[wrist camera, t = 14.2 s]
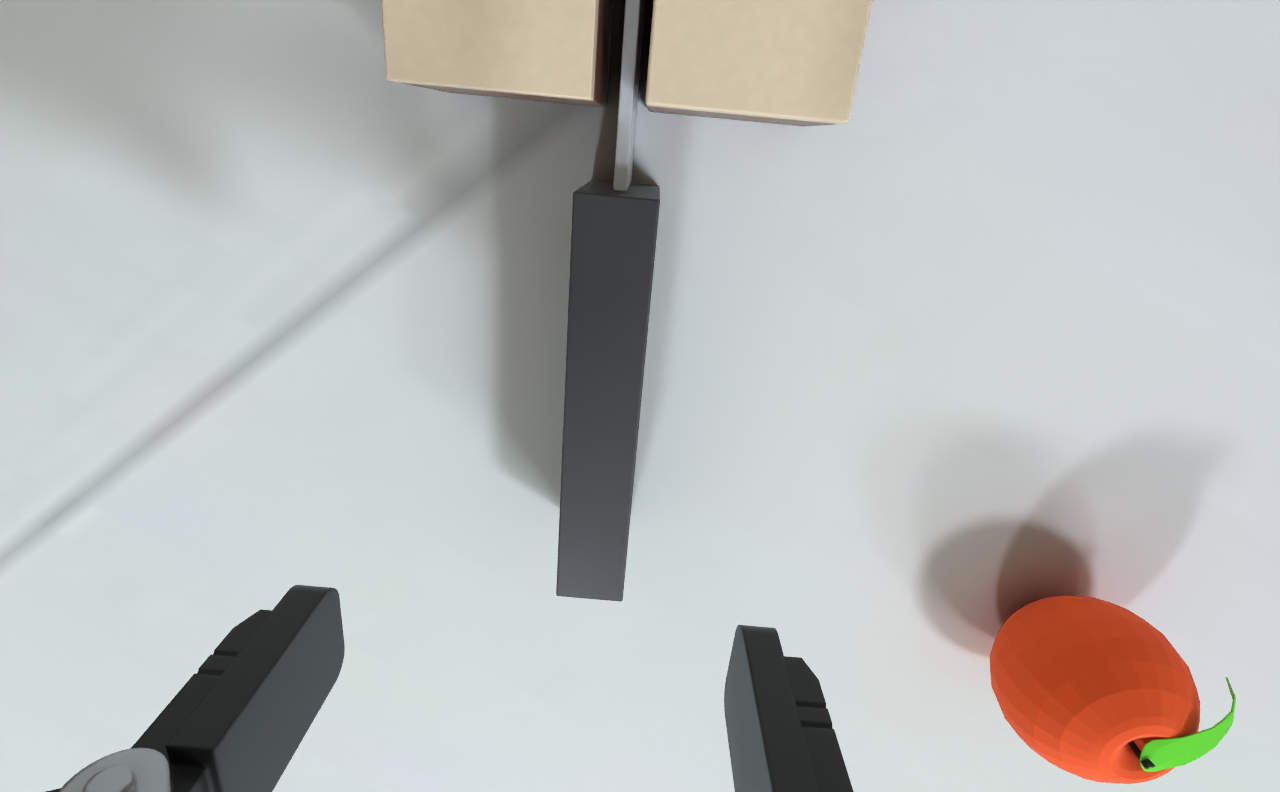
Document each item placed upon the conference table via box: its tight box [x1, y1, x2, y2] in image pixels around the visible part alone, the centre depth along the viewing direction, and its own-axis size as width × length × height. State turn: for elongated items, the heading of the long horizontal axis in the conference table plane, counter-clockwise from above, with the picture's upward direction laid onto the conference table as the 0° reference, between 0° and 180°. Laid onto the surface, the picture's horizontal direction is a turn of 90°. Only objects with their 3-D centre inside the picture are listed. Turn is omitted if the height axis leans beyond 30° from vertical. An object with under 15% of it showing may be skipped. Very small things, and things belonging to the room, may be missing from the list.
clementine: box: [990, 595, 1235, 784], centre depth 25 cm, size 8×7×7 cm
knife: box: [556, 0, 660, 601], centre depth 21 cm, size 23×2×5 cm, turn 175°
